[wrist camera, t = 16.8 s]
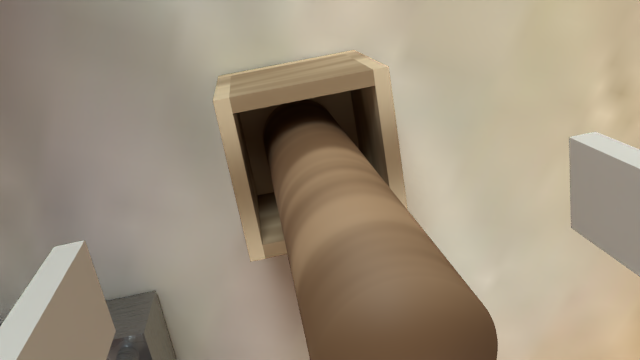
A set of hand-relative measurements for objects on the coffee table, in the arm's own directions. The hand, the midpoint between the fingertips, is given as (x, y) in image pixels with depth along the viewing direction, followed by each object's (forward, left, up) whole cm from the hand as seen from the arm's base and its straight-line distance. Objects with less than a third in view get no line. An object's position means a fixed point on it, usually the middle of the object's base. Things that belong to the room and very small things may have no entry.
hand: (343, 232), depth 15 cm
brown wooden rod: (0, 0, -13) cm, 13 cm away
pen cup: (0, 0, -14) cm, 14 cm away
